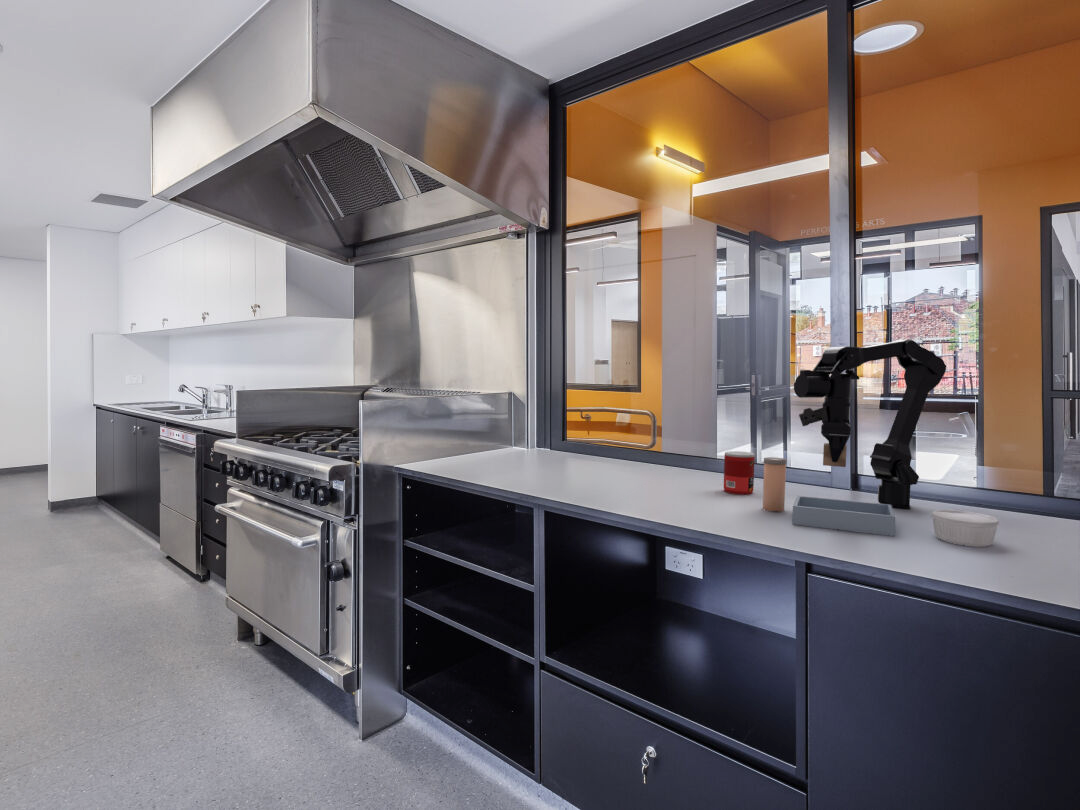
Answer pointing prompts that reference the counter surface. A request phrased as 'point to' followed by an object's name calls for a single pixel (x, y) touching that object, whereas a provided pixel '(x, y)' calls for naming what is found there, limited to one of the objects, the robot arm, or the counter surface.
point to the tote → (844, 515)
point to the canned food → (738, 472)
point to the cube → (828, 460)
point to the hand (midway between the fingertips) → (834, 460)
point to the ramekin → (964, 527)
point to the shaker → (774, 484)
